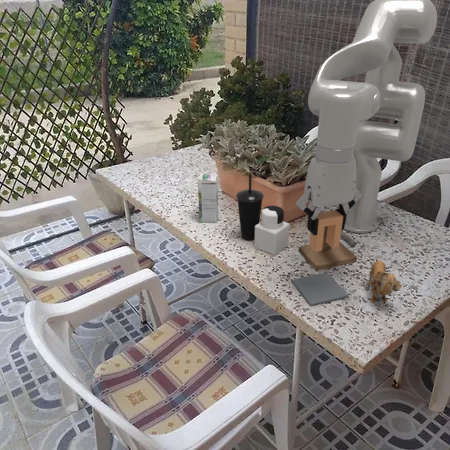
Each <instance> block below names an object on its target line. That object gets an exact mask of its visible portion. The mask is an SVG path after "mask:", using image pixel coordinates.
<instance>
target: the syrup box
mask: <svg viewBox="0 0 450 450" xmlns="http://www.w3.org/2000/svg"><path fill="white" fill-rule="evenodd" d="M218 175H219V174H217V173H209V172H208V173H199V176H198V181H197V189H198V190H197V191H198V196H197V197H198V198H197V199H198V218H199V219H198V220H199V221H198V222H199V223H205V224H206V223H218V217H219V188H218V187H219V183H218V178H219V177H218Z"/></svg>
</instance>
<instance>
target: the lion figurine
mask: <svg viewBox="0 0 450 450" xmlns="http://www.w3.org/2000/svg"><path fill="white" fill-rule="evenodd" d="M386 268H387V267H386V263H385V262H383V261H382V260H379V259H378V260H376V261H375V262H373V264H372V267H371V268H370V270H369V274H370V275H369V277H368V281H367V282H366V286H368V287H371V286H372V290H371V291H372V292H371V298H370V301H371V302H372V303H376V301H377V295H379V296H380V299H381V301H382V302H384V303H385V302H387V301H388V298H387V296H390V295H391V294H392V293H393V291H394V292H396V293H397V292H398V291H399V290H401V288H402V287H403V285H402V284H400V283H399V282H398V280H397V278H396V275H395V273H394V274H393V273H390V272H386Z"/></svg>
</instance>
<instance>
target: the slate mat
mask: <svg viewBox="0 0 450 450" xmlns="http://www.w3.org/2000/svg"><path fill="white" fill-rule="evenodd" d="M291 283H292V284H293V286H295V288H296V289H297V291H298V293H300V295H301V297H303V299H304V300H305V301H306V302H307V303H308V305H309V306H310V307H315V306H318V305H319V306H320V305H323V304H326V303H331V302H335V301H340V300H343V299H347V298H349V297H350V294H348V292H347V291H346V290H345V289H344V288H343V287H342V286H341V285H340V284H339V283H338V282H337V281H336V280H335V279H334V278H333V277H332V275H331V274H330V273H329V272H328V271H324V272H320V273H316V274H311V275H306V276H303V277H299V278H298V277H297V278H295V279H291Z"/></svg>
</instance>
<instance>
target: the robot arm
mask: <svg viewBox="0 0 450 450" xmlns="http://www.w3.org/2000/svg"><path fill="white" fill-rule="evenodd" d="M359 22H360V23H359V26H358V28H357V30H356V33H355V36H354V37H353V40H352V42H351V43H349V44H347V45H345V46H343V47H342V48H341V49H339V50H337V51H336V52H334V53H333V54H332V55H330V56H329V57H327V58H326V59H325V60H324V61H323V62H322V64H320V67H319V68H318V71H316V72H317V73H316V75H315V78H314V80H313V82H312V84H311V87H310V90H309V93H308V98H307V99H308V100H307V104H308V108H309V110H310V112H311V113H312V114H313V115H315V116H318V125H317V138H316V149H315V157H312V158H311V160H310V163H309V165H308V168H307V173H306V178H305V183H304V190H303V194H302V195H301V196H300V197H299V199H297V201H296V202H295V206H296V207H298V208H299V209H300V210H301V211H302V212H304V214H306V215H307V223H306V229H307V230H308V231H309V233H310V232H311V233H312V234H313V235H314V236H315V235H317V232H318V222H319V219H318V218H317V216H318V214H319V213H321V209H322V208H327V207H331V206H332V207H333V206H337V207H338V208H336V211H337V212H339V213H340V214H341V215H342V216H343V222H342V229H341V230H342V231H348V232H351V233H356V234H367V233H372V232H373V231H375V230H377V229H378V226H379V220H378V218H379V217H382V216H387V215H388V213H389V211H388V209H387V208H383V209H380V208H379V206H377V204H378V203H377V202H378V197H379V191H380V186H381V179H382V175H383V174H382V168H381V165H380V162H379V161H378V159H382V160H388V161H396V162H407V161H408V160H410V159H411V157H412V156H413V154H414V150H415V148H416V143H417V139H418V135H419V131H420V126H421V121H422V116H423V112H424V108H425V100H426V90H425V88H424V86H423V85H421V84H420V83H416V82H410V81H409V82H408V81H400V76H401V71H402V67H403V60H402V57H401V55H400V53H399V51H398V50H397V48H396V46H395V44H416V45H419V44H425V43H428V42H429V41H430V40H431V38H432V37H433V35H434V33H435V31H436V27H437V24H438V23H437V22H438V12H437V9H436V6H435V5H434V3H433V2H432V1H431V0H373V1H371V3H369V4H368V5H367V7H366V9H365V11H364V14H363V15H362V18H361V20H360V21H359ZM394 43H395V44H394ZM365 73H366V75H365V80H364V82H360V81H350V80H349V81H348V80H343V79H347V78H349V77H352V76H356V75H361V74H365ZM373 117H376V118H382V119H383V118H384V119H391V120H392V119H393V120H399V121H400V122H401V124H398V123H397V124H396V123H395V124H394V123H387V122H380V121H370V120H369V119H371V118H373ZM309 201H310V202H309ZM308 202H309V204H308V206H307V205H306V204H307V203H308Z"/></svg>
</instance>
